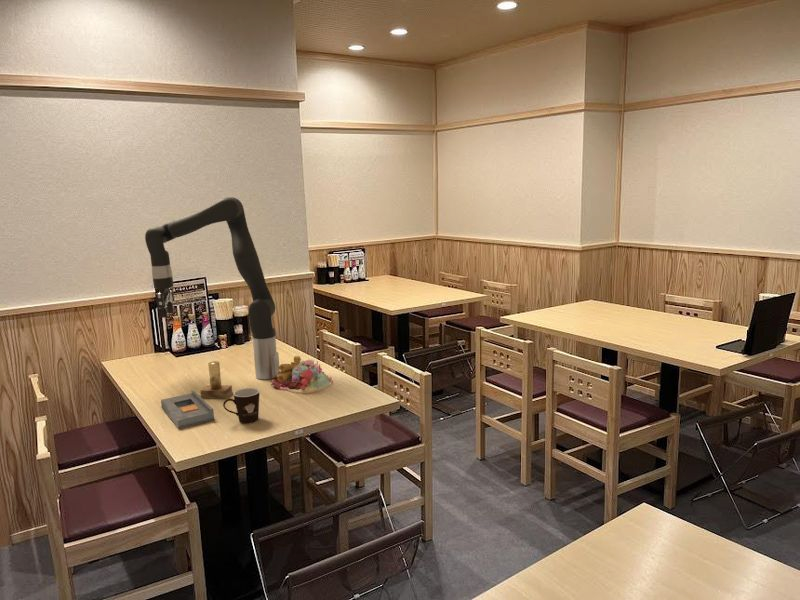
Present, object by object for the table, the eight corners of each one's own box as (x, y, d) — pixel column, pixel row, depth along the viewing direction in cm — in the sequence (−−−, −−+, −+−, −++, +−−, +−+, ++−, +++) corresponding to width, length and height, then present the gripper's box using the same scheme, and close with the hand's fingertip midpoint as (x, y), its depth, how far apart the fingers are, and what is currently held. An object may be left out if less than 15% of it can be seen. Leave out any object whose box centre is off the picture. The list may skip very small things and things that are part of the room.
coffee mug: (263, 414, 211) (261, 387, 209) (259, 424, 202) (256, 396, 200) (230, 416, 210) (227, 388, 208) (224, 426, 202) (221, 397, 200)
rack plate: (214, 420, 207) (213, 409, 206) (178, 428, 201) (177, 417, 200) (194, 400, 227) (193, 390, 226) (161, 407, 220) (160, 397, 219)
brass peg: (223, 386, 232) (220, 361, 230) (218, 389, 228) (216, 364, 226) (213, 386, 233) (211, 361, 231) (208, 389, 229) (206, 364, 227)
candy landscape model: (260, 388, 239) (258, 365, 237) (296, 370, 259) (295, 349, 257) (311, 397, 227) (310, 373, 226) (345, 378, 248) (344, 356, 246)
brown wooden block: (232, 392, 233) (231, 385, 233) (226, 398, 228) (225, 390, 227) (207, 392, 235) (207, 385, 234) (201, 397, 229) (200, 390, 228)
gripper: (166, 278, 238) (171, 318, 241) (177, 273, 252) (181, 310, 255) (146, 279, 237) (152, 319, 240) (158, 274, 251) (163, 312, 254)
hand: (167, 315), depth 248 cm, fingers open, 8 cm apart
